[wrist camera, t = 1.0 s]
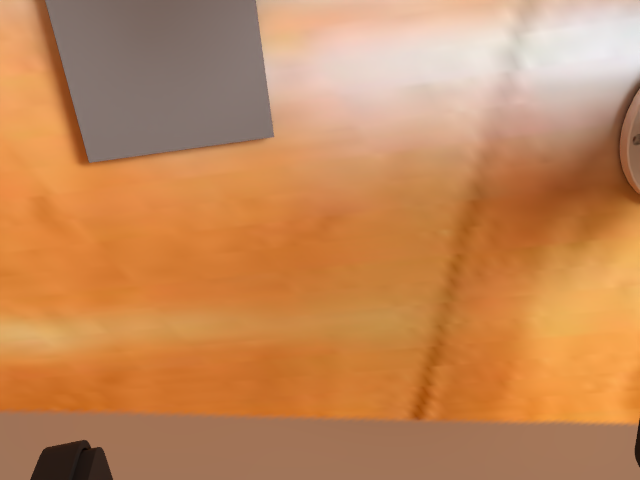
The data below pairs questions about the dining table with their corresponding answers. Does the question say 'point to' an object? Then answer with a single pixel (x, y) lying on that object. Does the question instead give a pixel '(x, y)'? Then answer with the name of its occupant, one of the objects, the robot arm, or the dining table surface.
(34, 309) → the dining table surface
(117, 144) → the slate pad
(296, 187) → the dining table surface
